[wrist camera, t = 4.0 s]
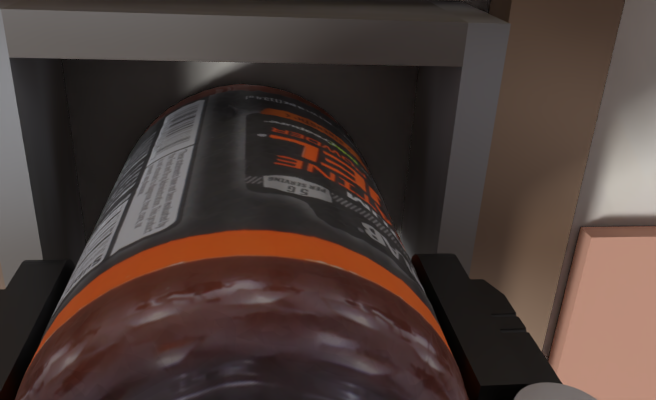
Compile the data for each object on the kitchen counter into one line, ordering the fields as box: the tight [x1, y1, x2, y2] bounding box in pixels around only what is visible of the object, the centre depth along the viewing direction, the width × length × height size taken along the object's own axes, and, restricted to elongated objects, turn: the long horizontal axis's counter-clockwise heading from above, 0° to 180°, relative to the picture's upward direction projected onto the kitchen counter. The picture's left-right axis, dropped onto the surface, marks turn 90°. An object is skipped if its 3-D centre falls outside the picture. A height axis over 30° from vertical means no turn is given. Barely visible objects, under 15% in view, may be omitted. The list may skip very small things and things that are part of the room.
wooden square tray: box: [0, 0, 625, 352], centre depth 14 cm, size 16×16×3 cm
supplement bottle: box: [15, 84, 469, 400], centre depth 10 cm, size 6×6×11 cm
